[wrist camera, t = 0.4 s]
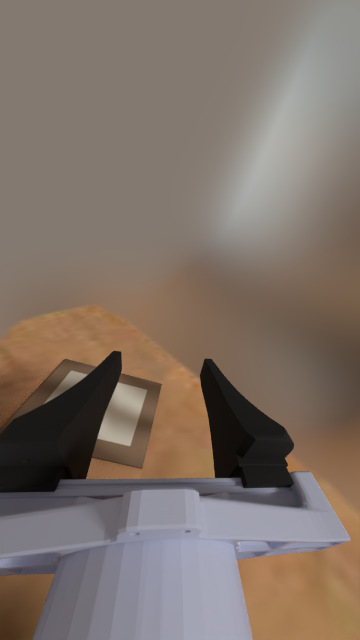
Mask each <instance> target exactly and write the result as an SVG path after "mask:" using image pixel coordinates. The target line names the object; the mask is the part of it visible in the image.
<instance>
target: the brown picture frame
mask: <svg viewBox="0 0 360 640" xmlns="http://www.w3.org/2000/svg"><path fill="white" fill-rule="evenodd" d="M95 368H96V367H95V366H91V365H87V364H83V363H79V362H75V361H71V360H68V359H65V360H64V361H63V362H62V363H61V365H60V366H59V367H58V368H57V369H56V370H55V371H54V372H53V373H52V374H51V375H50V376H49V378H48V379H47V380H46V381H45V382H44V383H43V384H42V385H41V386H40V387H39V388H38V389H37V391H36V392H35V393H34V394H33V395H32V396H31V397H30V398H29V399H28V400H27V401H26V402H25V404H24V405H23V406H22V407H21V408H20V409H19V410H18V411H17V412H16V413H15V414H14V415H13V417H12V418H11V419H10V420H9V421H8V422H7V423H6V424H5V425H4V426H3V427H2V428H1V429H0V434H1V433H2V431H3V430H4V429H5V428H6V427H7V426H8V425H9V424H10V423H11V422H12V420H13V419H15V418H17V417H19V416H21V415H23V414H25V413H28V412H30V411H32V410H34V409H36V408H37V407H39V406H41V405H43V404H45V403H47V402H48V401H50V400H52V399H54V398H55V397H57V396H59V395H60V394H62V393H63V392H65V391H66V390H68V389H69V388H71V387H72V386H74V385H75V384H77V383H78V382H79V381H81V380H82V379H83V378H84V377H86V376H87V375H88V374H89V373H90V372H92V371H93V370H94V369H95ZM161 385H162V384H160V383H156V382H152V381H148V380H144V379H141V378H137V377H133V376H129V375H125V374H120V378H119V381H118V383H117V386H116V388H115V391H114V393H113V395H112V398H111V400H110V402H109V405H108V407H107V410H106V412H105V415H104V418H103V421H102V425H101V428H100V431H99V434H98V438H97V441H96V444H95V448H94V451H93V455H92V458H96V459H100V460H105V461H109V462H113V463H118V464H122V465H127V466H131V467H136V468H140V469H142V467H143V462H144V458H145V454H146V449H147V445H148V441H149V436H150V432H151V428H152V424H153V419H154V415H155V411H156V406H157V402H158V398H159V393H160V389H161Z"/></svg>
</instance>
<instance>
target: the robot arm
mask: <svg viewBox="0 0 360 640" xmlns="http://www.w3.org/2000/svg"><path fill="white" fill-rule="evenodd" d="M121 371H122V362H121V352H119V351H113V352H112V353H111V354H110V355H109V356H108V357H107V358H106V359H105V360H104V361H103V362H102V363H101V364H99V365H98V366H97V367H96V368H95V369H94V370H93V371H92V372H90V373H89V374H88V375H87V376H86V377H84V378H83V379H82V380H81V381H79V382H78V383H77V384H75V385H74V386H72V387H71V388H69V389H68V390H66V391H65V392H63V393H62V394H60V395H59V396H57V397H55V398H54V399H52V400H50V401H48V402H47V403H45V404H43V405H41V406H39V407H37V408H36V409H34V410H32V411H30V412H28V413H25V414H23V415H21V416H19V417H17V418H15V419H13V420H12V422H11V423H10V424H9V425H8V426H7V427H6V428H5V429H4V430H3V431H2V433H1V434H0V575H28V574H55V575H54V578H53V581H52V584H51V587H50V590H49V592H48V595H47V598H46V601H45V604H44V607H43V610H42V613H41V616H40V618H39V621H38V624H37V627H36V630H35V633H34V636H33V639H32V640H253V638H252V633H251V628H250V623H249V618H248V613H247V608H246V603H245V598H244V594H243V589H242V584H241V579H240V574H239V569H238V564H237V560H239V559H247V558H255V557H263V556H271V555H280V554H288V553H298V552H309V551H321V550H324V549H327V548H330V547H333V546H336V545H339V544H342V543H345V542H348V541H350V537H349V535H348V533H347V532H346V530H345V528H344V527H343V525H342V523H341V522H340V520H339V518H338V517H337V515H336V513H335V512H334V510H333V508H332V507H331V505H330V503H329V502H328V500H327V498H326V497H325V495H324V493H323V492H322V490H321V488H320V486H319V485H318V483H317V481H316V480H315V478H314V476H313V475H312V473H311V472H309V471H295V472H290V473H289V472H288V470H287V468H286V467H287V466H288V464H287V462H286V460H285V457H286V456H287V455H288V454H289V453H290V452H291V451H292V450H293V447H294V443H293V441H292V440H291V438H290V436H289V435H288V433H287V431H286V430H285V428H284V427H283V426H281V425H280V424H278V423H277V422H275V421H274V420H272V419H271V418H269V417H268V416H267V415H265V414H264V413H263V412H261V411H260V410H259V409H257V408H256V407H255V406H254V405H253V404H251V403H250V402H249V401H248V400H247V399H246V398H245V397H244V396H242V395H241V394H240V393H239V392H238V391H237V390H236V389H235V388H234V386H233V385H232V384H231V383H230V382H229V381H228V380H227V378H225V376H224V375H223V374H222V372H221V371H220V370H219V368H218V367H217V366H216V364H215V363H214V362H213V361H212V359H205V360H204V363H203V367H202V370H201V374H200V380H201V387H202V392H203V396H204V400H205V404H206V408H207V413H208V418H209V425H210V432H211V440H212V449H213V459H214V470H215V478H178V479H86V476H87V473H88V469H89V465H90V462H91V458H92V455H93V451H94V448H95V444H96V441H97V438H98V434H99V431H100V428H101V425H102V421H103V418H104V415H105V412H106V410H107V407H108V405H109V402H110V400H111V398H112V395H113V393H114V391H115V388H116V386H117V383H118V381H119V378H120V374H121Z"/></svg>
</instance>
